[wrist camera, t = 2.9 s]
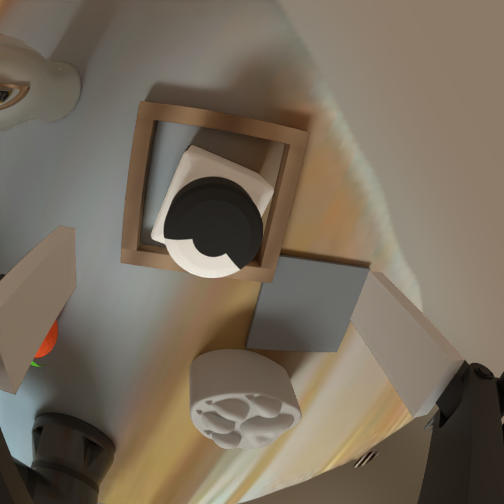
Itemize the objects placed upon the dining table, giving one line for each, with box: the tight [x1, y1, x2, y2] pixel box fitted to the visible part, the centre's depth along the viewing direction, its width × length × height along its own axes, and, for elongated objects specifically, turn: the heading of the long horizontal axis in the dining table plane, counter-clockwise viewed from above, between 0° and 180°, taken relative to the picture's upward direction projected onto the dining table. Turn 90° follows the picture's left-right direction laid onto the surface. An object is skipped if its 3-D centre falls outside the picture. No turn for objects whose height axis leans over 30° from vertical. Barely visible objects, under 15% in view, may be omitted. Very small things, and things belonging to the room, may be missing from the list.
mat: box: [246, 254, 370, 352], centre depth 36 cm, size 12×12×1 cm
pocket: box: [121, 101, 310, 283], centre depth 28 cm, size 15×15×2 cm
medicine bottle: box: [151, 145, 274, 278], centre depth 24 cm, size 7×7×12 cm
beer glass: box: [0, 34, 81, 132], centre depth 16 cm, size 7×7×15 cm
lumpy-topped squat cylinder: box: [190, 349, 302, 449], centre depth 35 cm, size 10×13×9 cm
